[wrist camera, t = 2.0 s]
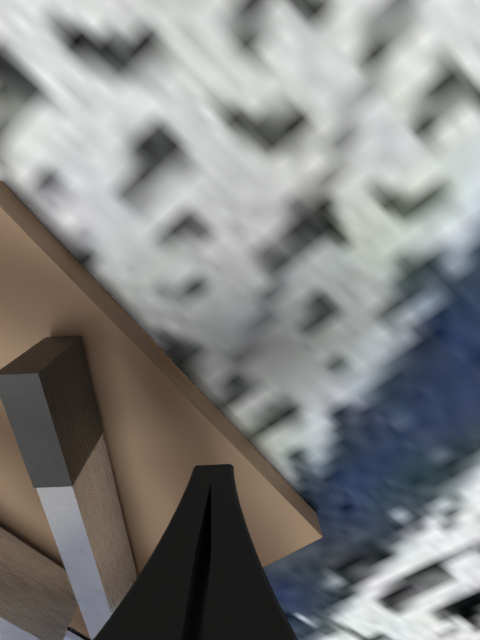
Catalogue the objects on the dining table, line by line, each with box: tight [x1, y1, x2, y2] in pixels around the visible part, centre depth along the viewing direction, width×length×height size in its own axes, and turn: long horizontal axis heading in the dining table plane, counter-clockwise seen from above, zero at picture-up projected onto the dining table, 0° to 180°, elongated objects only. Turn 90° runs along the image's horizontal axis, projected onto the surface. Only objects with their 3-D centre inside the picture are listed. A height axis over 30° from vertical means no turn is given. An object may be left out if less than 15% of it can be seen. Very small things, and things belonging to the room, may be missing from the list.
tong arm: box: [0, 336, 137, 640], centre depth 15 cm, size 19×3×3 cm, turn 2°
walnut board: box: [0, 181, 323, 639], centre depth 17 cm, size 18×24×2 cm
